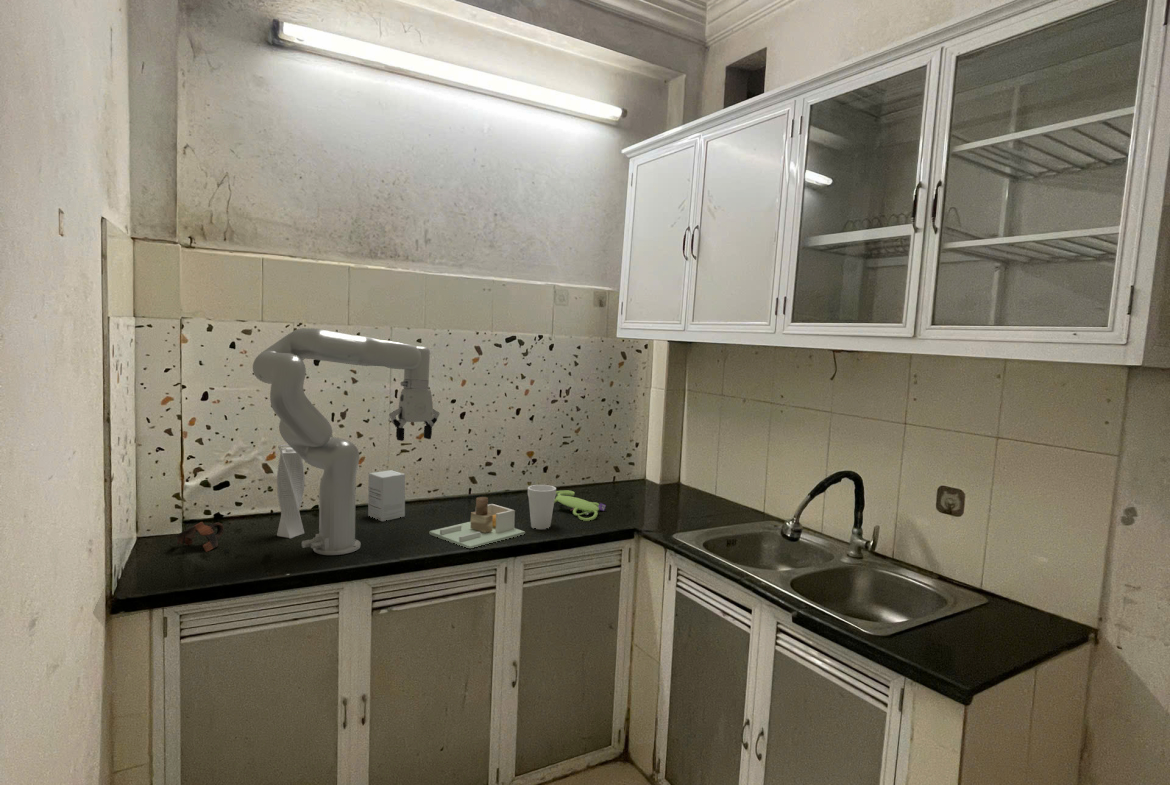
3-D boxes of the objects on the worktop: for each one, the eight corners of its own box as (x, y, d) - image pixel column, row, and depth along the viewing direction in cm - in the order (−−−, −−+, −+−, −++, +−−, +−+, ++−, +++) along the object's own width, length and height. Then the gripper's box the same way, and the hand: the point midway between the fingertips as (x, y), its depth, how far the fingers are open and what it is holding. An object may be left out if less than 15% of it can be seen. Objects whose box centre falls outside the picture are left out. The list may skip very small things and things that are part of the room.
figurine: (559, 500, 248) (560, 486, 247) (617, 513, 232) (617, 498, 232) (528, 509, 232) (529, 494, 232) (588, 523, 217) (588, 507, 217)
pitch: (469, 549, 184) (470, 526, 184) (429, 534, 197) (429, 512, 197) (524, 534, 201) (525, 512, 200) (484, 521, 214) (484, 500, 213)
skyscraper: (289, 540, 186) (289, 446, 184) (270, 536, 189) (270, 443, 187) (309, 533, 194) (310, 442, 192) (290, 529, 196) (291, 440, 194)
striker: (484, 533, 196) (484, 501, 196) (469, 528, 201) (470, 497, 200) (492, 530, 199) (493, 499, 198) (478, 526, 204) (479, 495, 203)
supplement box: (391, 511, 221) (391, 469, 220) (405, 517, 215) (406, 473, 214) (367, 516, 214) (367, 472, 213) (381, 522, 209) (382, 477, 207)
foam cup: (542, 521, 217) (543, 483, 216) (560, 527, 210) (561, 488, 209) (520, 525, 210) (521, 487, 209) (538, 532, 204) (540, 492, 203)
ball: (506, 520, 205) (499, 530, 203) (498, 517, 208) (491, 527, 206) (499, 513, 203) (493, 524, 201) (491, 510, 205) (484, 521, 203)
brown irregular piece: (199, 557, 171) (182, 531, 170) (181, 566, 175) (165, 541, 175) (237, 535, 181) (221, 510, 181) (219, 543, 186) (204, 519, 185)
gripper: (397, 386, 190) (395, 442, 191) (446, 386, 203) (444, 439, 203) (384, 384, 195) (382, 439, 196) (433, 384, 208) (431, 436, 209)
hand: (414, 439), depth 200 cm, fingers open, 9 cm apart
